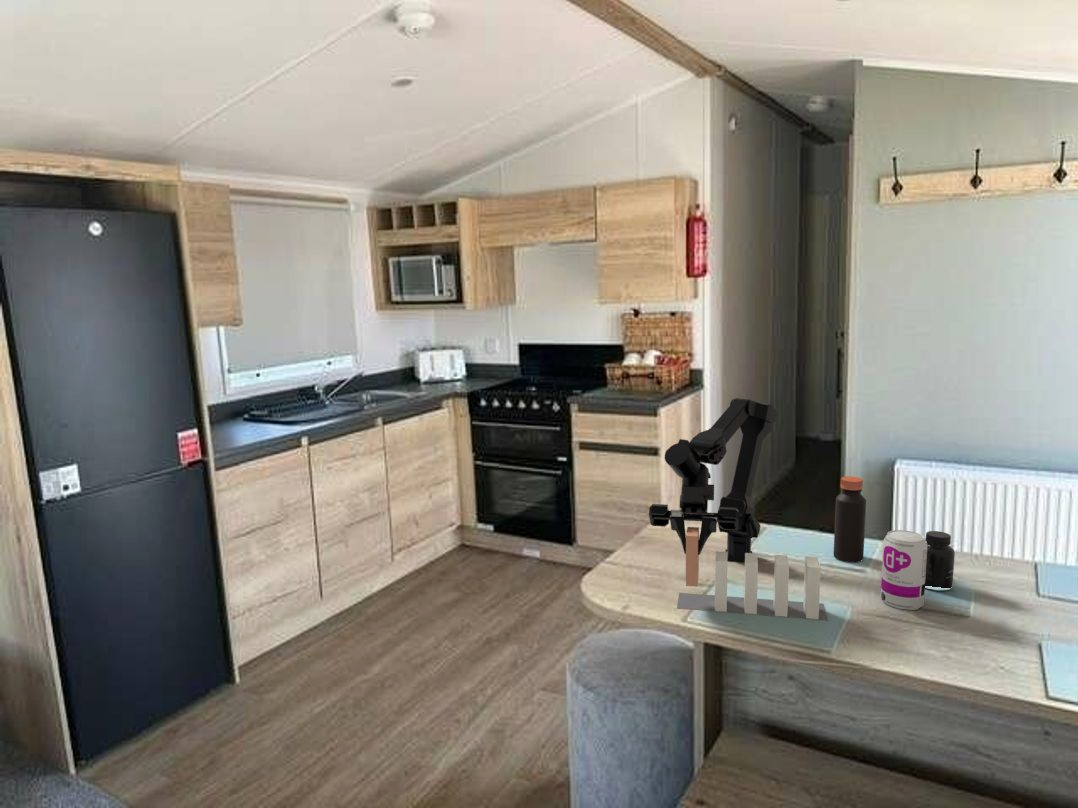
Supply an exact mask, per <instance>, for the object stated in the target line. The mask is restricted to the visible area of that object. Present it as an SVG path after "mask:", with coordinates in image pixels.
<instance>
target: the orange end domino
mask: <svg viewBox="0 0 1078 808" xmlns="http://www.w3.org/2000/svg"><path fill="white" fill-rule="evenodd" d="M685 534H686V554H685V586H686V587H698V586H699V585H698V584H699V574H700V573H699V572H700V571H699V569H700V568H699V567H700V565H699V564H700V563H699V562H700V561H699V560H700V557H699V556H700V555H698V543H699V537H700V527H698V526H697V527H696V526H695V527H694V526H687V528H686V532H685Z"/></svg>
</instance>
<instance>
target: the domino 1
mask: <svg viewBox="0 0 1078 808" xmlns="http://www.w3.org/2000/svg"><path fill="white" fill-rule="evenodd" d="M727 557H728V552H725V551H722V550H721V551H720V550H716V551H715V560H714V561H715V563H714V566H715V569H714V571H715V572H714V579H715V580H714V595H715V611H722V612H721V613H726V612H727V596H728V560H727Z"/></svg>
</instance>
